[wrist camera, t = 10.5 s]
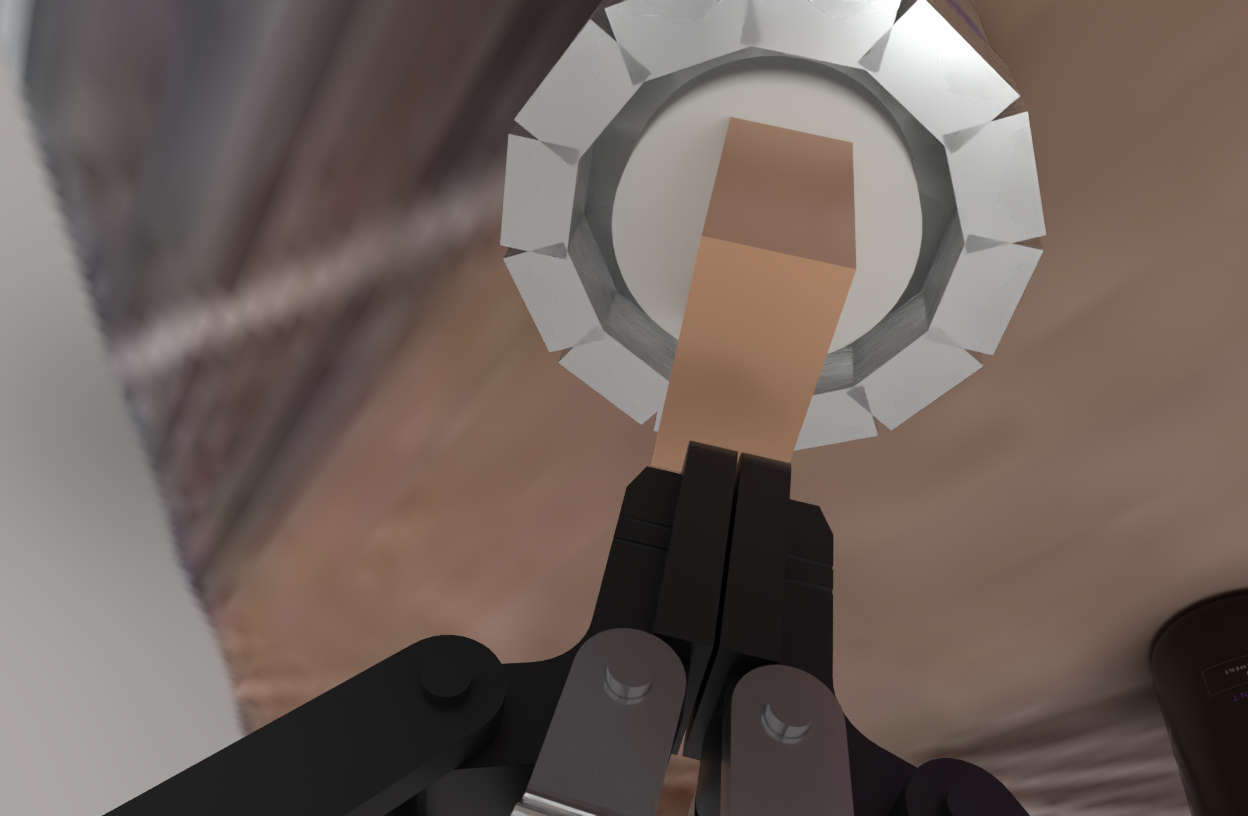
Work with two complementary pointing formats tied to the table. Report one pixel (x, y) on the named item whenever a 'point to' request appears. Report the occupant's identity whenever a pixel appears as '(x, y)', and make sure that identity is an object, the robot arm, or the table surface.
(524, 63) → the table surface
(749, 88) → the knob lid with grip
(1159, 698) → the supplement bottle
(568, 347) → the glass candle holder
